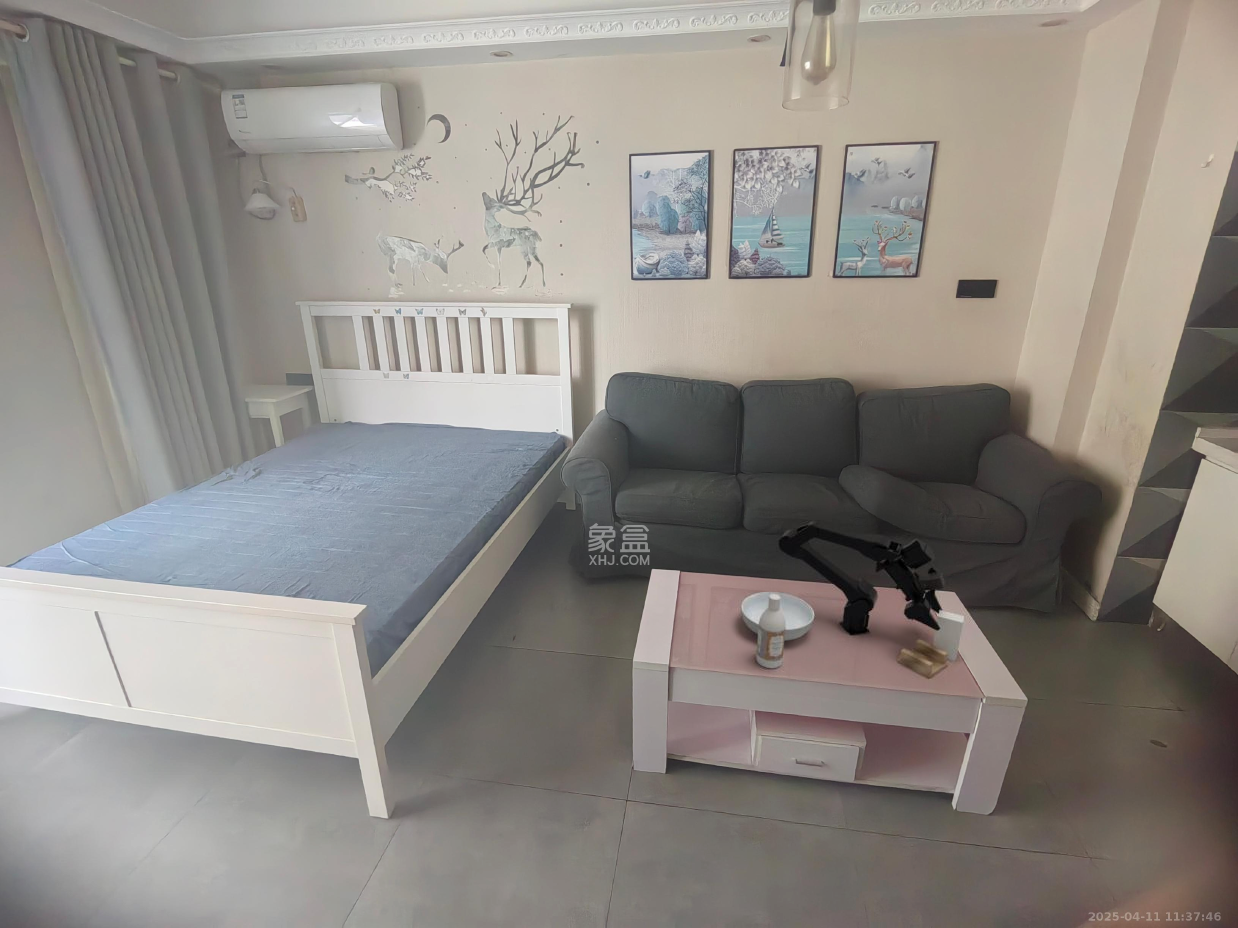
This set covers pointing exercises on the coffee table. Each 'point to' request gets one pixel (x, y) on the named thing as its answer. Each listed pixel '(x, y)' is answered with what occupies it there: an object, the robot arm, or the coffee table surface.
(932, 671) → the slot holder
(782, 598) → the serving bowl
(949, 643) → the white rectangular box
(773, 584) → the coffee table surface
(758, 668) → the coffee table surface
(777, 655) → the bath foam
